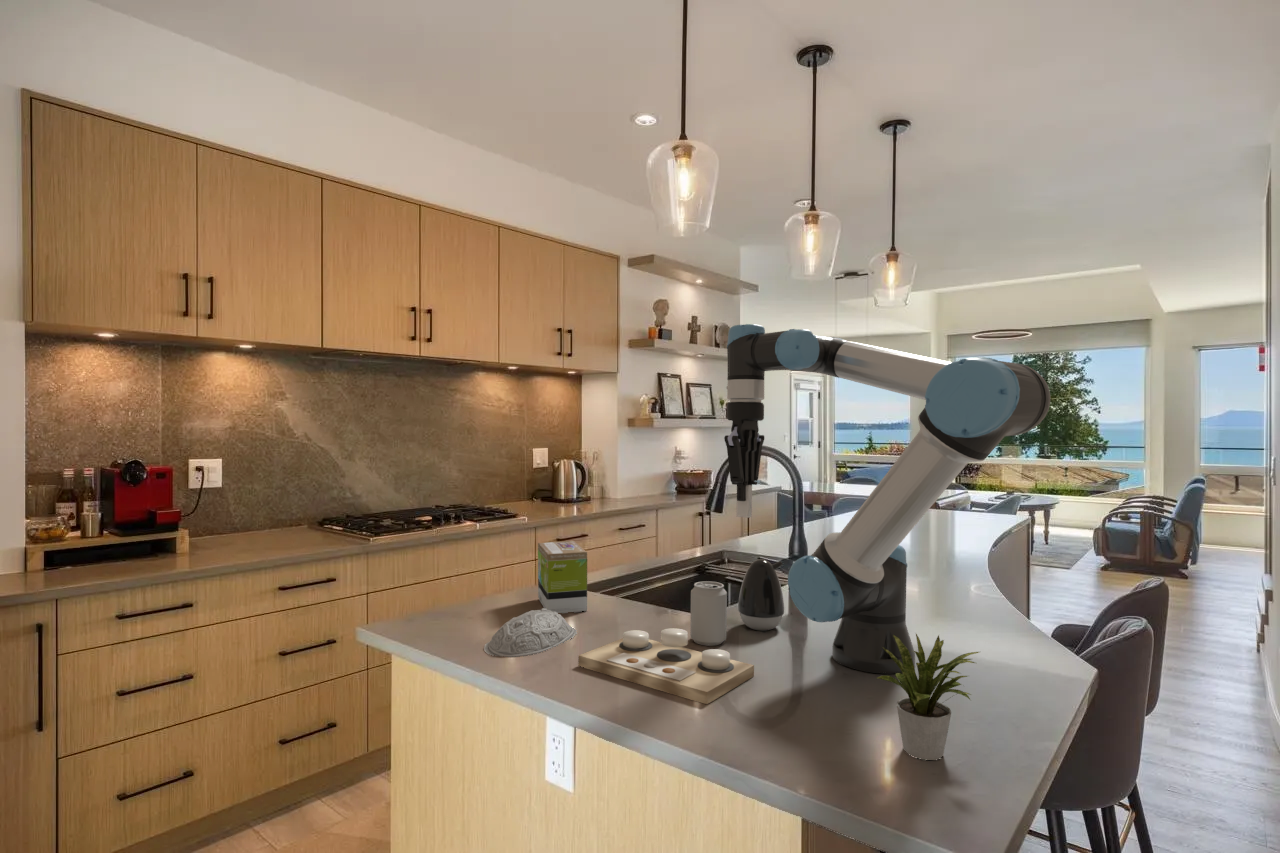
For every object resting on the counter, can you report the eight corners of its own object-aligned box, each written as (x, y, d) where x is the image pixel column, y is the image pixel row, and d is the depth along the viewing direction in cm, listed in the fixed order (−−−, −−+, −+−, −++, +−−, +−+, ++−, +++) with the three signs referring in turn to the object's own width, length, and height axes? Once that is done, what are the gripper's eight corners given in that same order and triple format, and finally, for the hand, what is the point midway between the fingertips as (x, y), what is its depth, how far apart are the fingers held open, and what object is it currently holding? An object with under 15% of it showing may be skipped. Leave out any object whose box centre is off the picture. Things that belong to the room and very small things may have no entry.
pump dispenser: (794, 631, 152) (794, 562, 152) (752, 636, 148) (753, 565, 148) (768, 618, 161) (769, 553, 161) (729, 623, 158) (730, 556, 157)
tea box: (536, 599, 177) (537, 541, 177) (575, 596, 180) (575, 540, 180) (546, 615, 163) (547, 552, 162) (588, 612, 166) (589, 550, 166)
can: (724, 648, 140) (725, 589, 140) (687, 645, 142) (688, 586, 141) (727, 637, 147) (728, 580, 147) (692, 634, 149) (693, 578, 149)
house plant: (989, 792, 86) (990, 661, 86) (871, 770, 91) (873, 646, 91) (979, 743, 99) (980, 629, 99) (877, 726, 104) (878, 618, 104)
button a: (735, 664, 124) (735, 653, 124) (720, 671, 120) (720, 660, 120) (711, 658, 127) (711, 647, 127) (696, 665, 123) (696, 654, 123)
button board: (753, 676, 125) (754, 663, 125) (706, 704, 112) (707, 690, 112) (631, 644, 142) (631, 633, 142) (578, 666, 129) (578, 653, 129)
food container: (592, 626, 153) (589, 596, 153) (532, 669, 130) (528, 633, 130) (532, 625, 159) (529, 596, 159) (465, 665, 136) (461, 631, 136)
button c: (653, 643, 135) (653, 633, 135) (638, 650, 131) (638, 639, 131) (633, 638, 138) (633, 628, 138) (617, 645, 134) (617, 634, 134)
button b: (692, 642, 130) (692, 631, 130) (677, 649, 126) (677, 638, 126) (670, 637, 133) (670, 626, 133) (655, 643, 129) (655, 632, 129)
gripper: (744, 402, 149) (743, 512, 149) (713, 400, 139) (711, 518, 139) (776, 402, 144) (775, 515, 145) (746, 400, 134) (744, 521, 134)
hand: (744, 516), depth 142 cm, fingers closed
